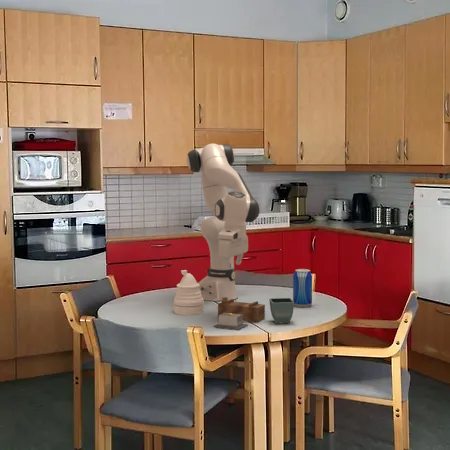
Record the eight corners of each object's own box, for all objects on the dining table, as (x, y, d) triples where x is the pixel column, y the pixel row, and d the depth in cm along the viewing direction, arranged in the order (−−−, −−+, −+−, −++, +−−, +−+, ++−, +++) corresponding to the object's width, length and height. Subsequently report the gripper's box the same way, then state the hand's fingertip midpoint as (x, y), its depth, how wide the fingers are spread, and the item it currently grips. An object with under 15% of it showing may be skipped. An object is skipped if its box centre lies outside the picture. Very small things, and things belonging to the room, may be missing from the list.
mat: (213, 327, 267) (213, 325, 267) (222, 322, 274) (222, 321, 274) (238, 330, 262) (238, 328, 262) (247, 325, 270) (247, 324, 269)
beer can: (311, 308, 301) (311, 272, 299) (292, 307, 302) (292, 271, 301) (312, 304, 309) (312, 268, 307) (294, 303, 311) (294, 268, 309)
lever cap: (218, 325, 268) (218, 313, 268) (224, 322, 272) (224, 311, 272) (237, 327, 264) (237, 315, 264) (242, 324, 269) (242, 313, 268)
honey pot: (181, 316, 287) (180, 273, 285) (169, 310, 298) (168, 269, 296) (208, 313, 292) (208, 271, 291) (195, 307, 304) (195, 267, 302)
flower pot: (268, 319, 279) (269, 298, 279) (290, 319, 280) (290, 297, 279) (272, 325, 271) (272, 302, 270) (294, 324, 271) (294, 302, 271)
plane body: (217, 318, 283) (217, 299, 282) (225, 314, 289) (225, 295, 288) (257, 322, 275) (257, 302, 274) (264, 318, 281) (264, 299, 280)
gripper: (239, 228, 287) (237, 261, 289) (216, 234, 269) (214, 269, 271) (252, 230, 284) (251, 263, 286) (230, 236, 266) (229, 271, 268)
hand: (233, 266), depth 278 cm, fingers open, 8 cm apart
